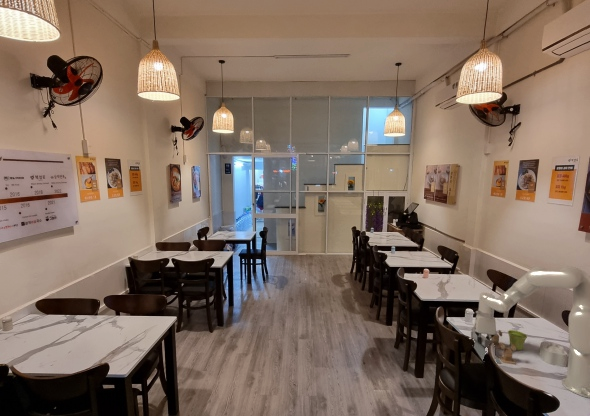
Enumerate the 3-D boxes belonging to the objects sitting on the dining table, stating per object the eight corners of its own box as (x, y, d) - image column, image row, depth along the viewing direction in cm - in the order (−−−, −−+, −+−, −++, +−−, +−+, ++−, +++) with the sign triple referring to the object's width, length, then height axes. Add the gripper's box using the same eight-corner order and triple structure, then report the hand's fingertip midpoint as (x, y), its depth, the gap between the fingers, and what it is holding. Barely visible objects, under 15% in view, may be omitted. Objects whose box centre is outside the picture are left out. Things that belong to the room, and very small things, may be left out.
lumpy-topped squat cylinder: (544, 363, 156) (545, 348, 156) (535, 350, 168) (537, 337, 168) (568, 368, 152) (570, 353, 151) (558, 355, 164) (559, 341, 163)
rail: (493, 348, 159) (492, 341, 160) (485, 347, 160) (485, 339, 161) (478, 338, 180) (478, 332, 181) (471, 337, 181) (471, 331, 182)
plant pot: (508, 349, 169) (509, 335, 169) (505, 341, 178) (506, 328, 177) (527, 353, 165) (529, 339, 164) (523, 345, 173) (524, 332, 173)
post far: (502, 348, 170) (503, 333, 169) (490, 346, 172) (491, 332, 171) (498, 343, 175) (499, 329, 174) (487, 342, 177) (488, 328, 176)
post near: (515, 364, 155) (517, 348, 154) (502, 362, 156) (503, 346, 156) (511, 359, 160) (512, 343, 159) (498, 357, 161) (499, 341, 160)
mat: (501, 363, 155) (501, 362, 155) (483, 361, 157) (483, 360, 157) (483, 340, 178) (483, 339, 178) (468, 338, 181) (468, 337, 181)
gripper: (472, 315, 164) (470, 344, 166) (504, 319, 160) (501, 349, 162) (468, 309, 172) (465, 337, 173) (498, 313, 168) (496, 341, 169)
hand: (483, 342), depth 168 cm, fingers closed on rail, 3 cm apart
